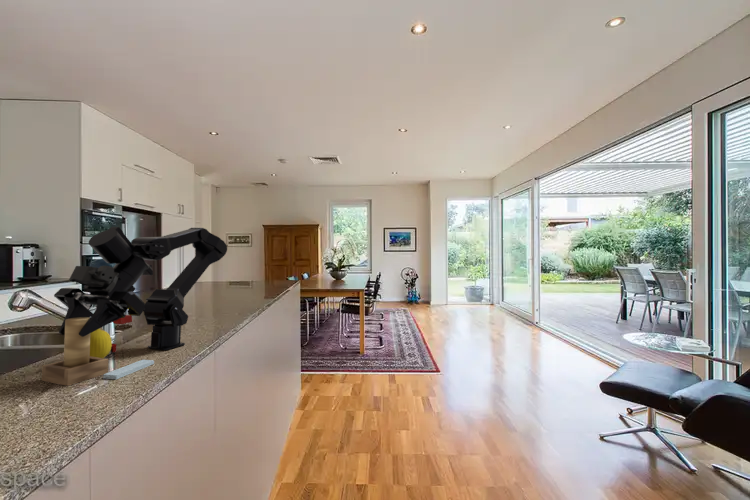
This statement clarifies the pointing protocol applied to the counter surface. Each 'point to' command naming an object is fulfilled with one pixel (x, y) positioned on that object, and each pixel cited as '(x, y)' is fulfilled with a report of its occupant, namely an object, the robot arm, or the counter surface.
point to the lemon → (100, 343)
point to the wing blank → (128, 369)
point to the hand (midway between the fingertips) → (70, 334)
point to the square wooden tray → (74, 371)
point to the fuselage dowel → (76, 343)
